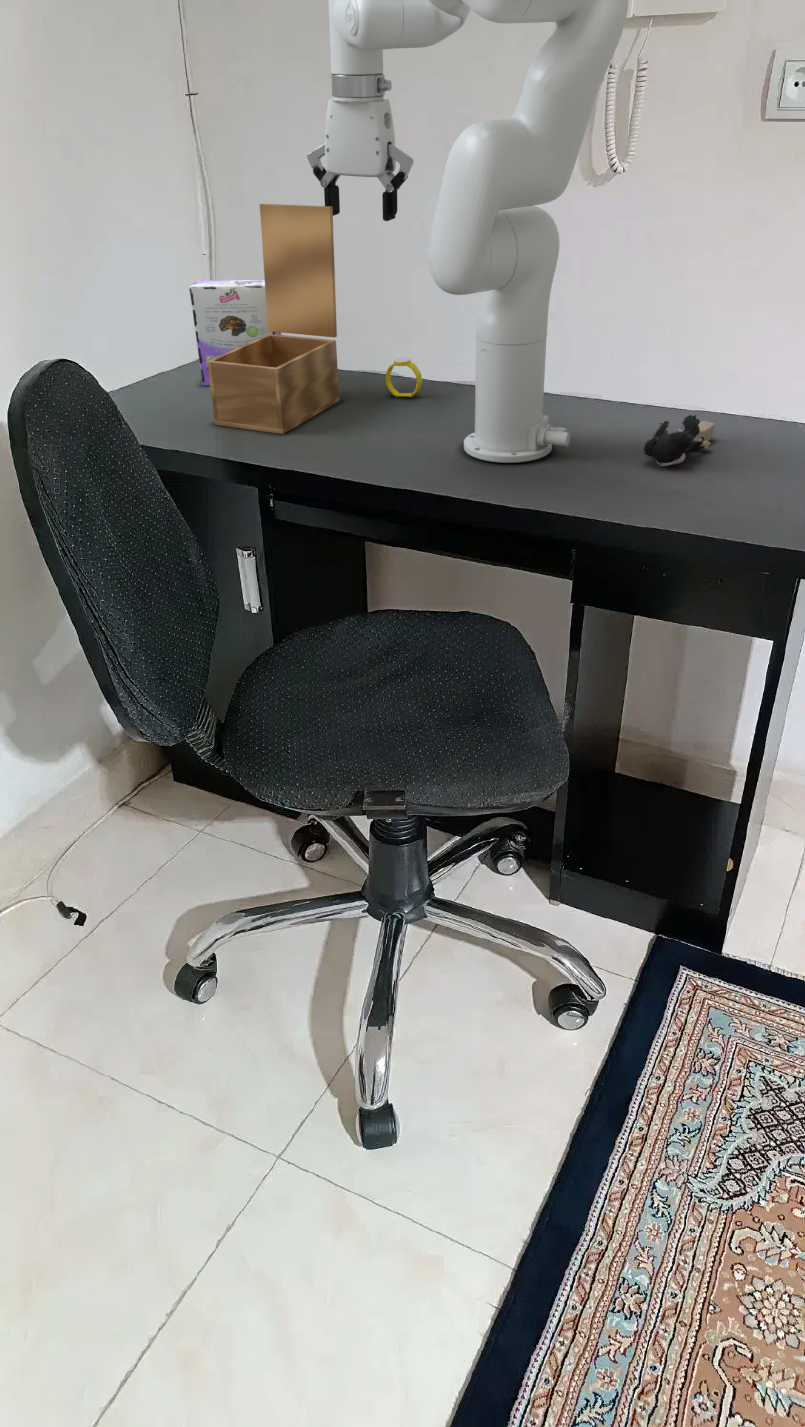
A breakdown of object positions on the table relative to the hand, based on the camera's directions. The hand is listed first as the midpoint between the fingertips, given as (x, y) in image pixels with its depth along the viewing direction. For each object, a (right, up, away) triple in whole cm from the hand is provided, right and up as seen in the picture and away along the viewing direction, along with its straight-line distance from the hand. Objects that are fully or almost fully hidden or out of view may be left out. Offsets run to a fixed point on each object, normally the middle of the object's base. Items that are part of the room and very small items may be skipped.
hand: (361, 217), depth 161 cm
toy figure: (+45, -40, -15) cm, 62 cm away
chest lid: (-10, -8, +2) cm, 13 cm away
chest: (-13, -29, +6) cm, 32 cm away
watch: (+7, -24, +11) cm, 28 cm away
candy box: (-21, -19, +21) cm, 35 cm away
